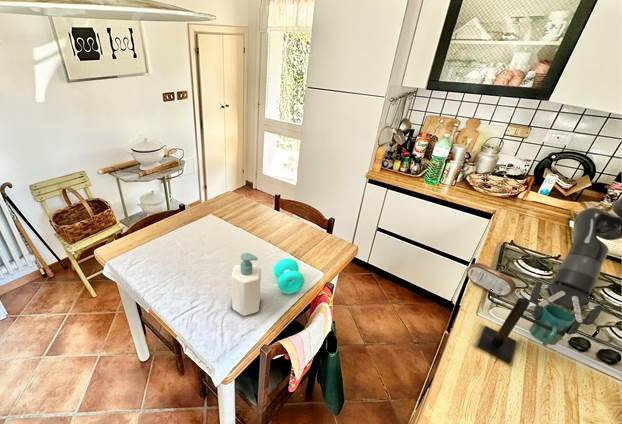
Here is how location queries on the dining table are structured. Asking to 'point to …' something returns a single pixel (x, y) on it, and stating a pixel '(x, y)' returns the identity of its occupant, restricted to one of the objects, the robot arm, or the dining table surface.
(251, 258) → the soap bottle
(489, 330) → the mug stand
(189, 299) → the dining table surface
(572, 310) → the robot arm
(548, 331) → the mug
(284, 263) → the turquoise dumbbell
